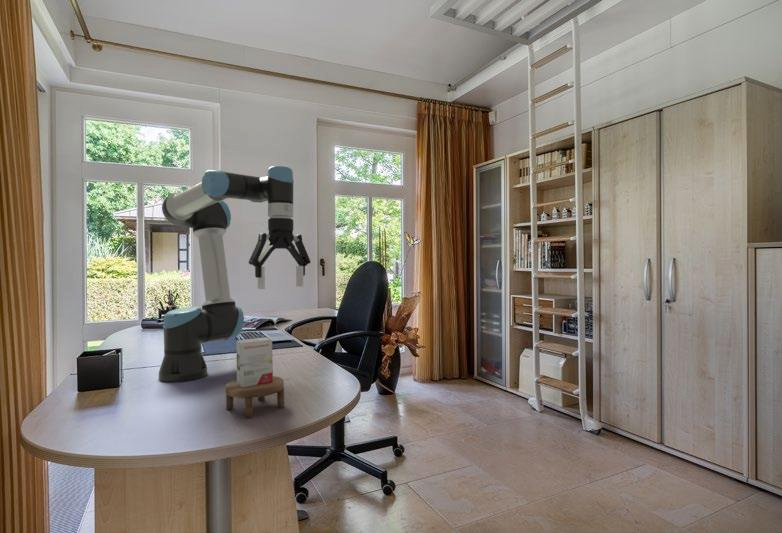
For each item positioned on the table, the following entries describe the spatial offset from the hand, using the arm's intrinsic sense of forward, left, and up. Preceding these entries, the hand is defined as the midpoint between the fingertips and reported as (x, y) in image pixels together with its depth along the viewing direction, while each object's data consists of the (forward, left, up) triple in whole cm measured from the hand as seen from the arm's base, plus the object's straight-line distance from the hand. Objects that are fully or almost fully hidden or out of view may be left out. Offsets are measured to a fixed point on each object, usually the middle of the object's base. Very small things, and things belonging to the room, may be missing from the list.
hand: (281, 287), depth 132 cm
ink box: (+8, -14, -25) cm, 30 cm away
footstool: (+8, -14, -32) cm, 36 cm away
